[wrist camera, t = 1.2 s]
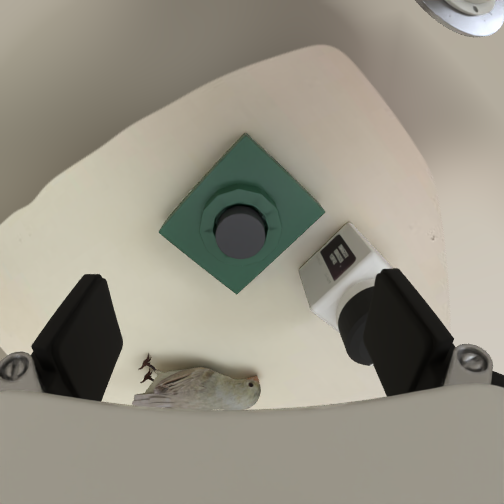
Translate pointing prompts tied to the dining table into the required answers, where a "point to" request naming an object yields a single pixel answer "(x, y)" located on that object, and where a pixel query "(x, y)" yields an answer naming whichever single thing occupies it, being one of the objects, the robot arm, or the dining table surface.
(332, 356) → the dining table surface
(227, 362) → the dining table surface
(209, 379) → the decorative bird
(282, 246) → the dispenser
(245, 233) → the dark grey push button
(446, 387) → the robot arm
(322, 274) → the container
